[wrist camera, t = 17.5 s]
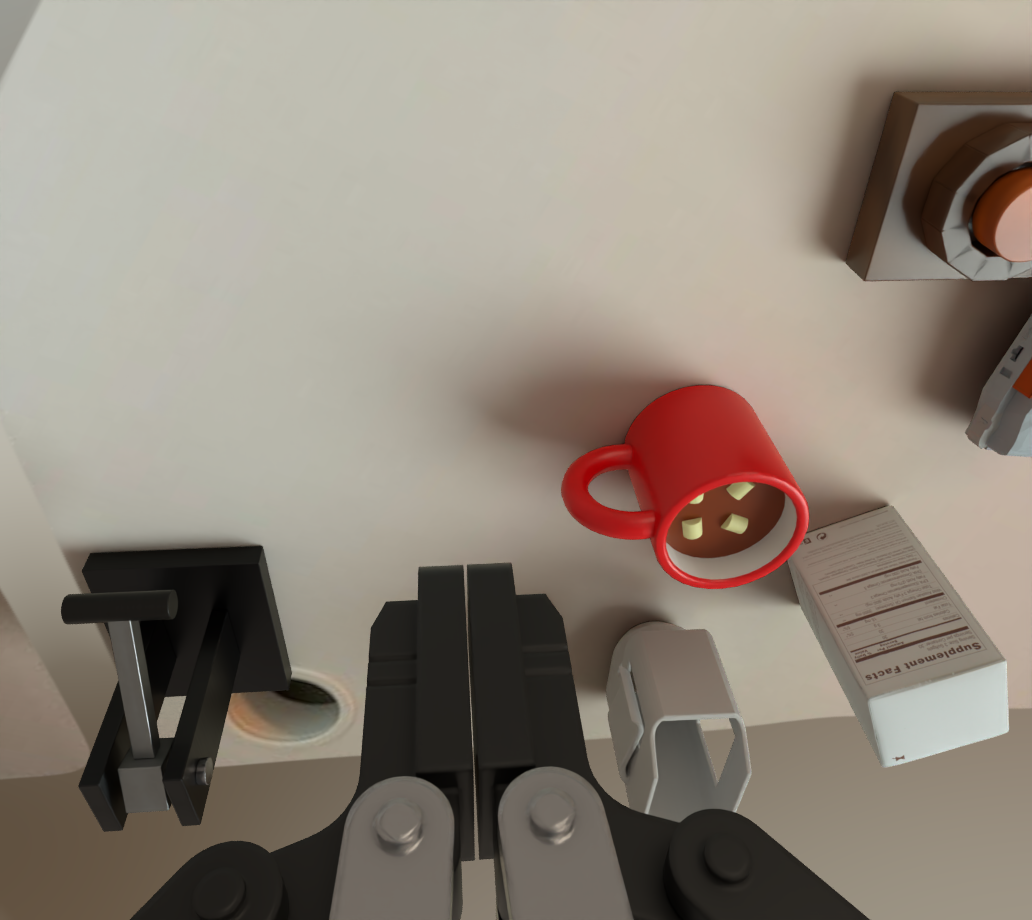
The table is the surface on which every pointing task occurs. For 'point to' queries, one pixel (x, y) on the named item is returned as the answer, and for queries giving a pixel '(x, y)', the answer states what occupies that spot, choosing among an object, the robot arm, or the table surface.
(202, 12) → the table surface
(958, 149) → the button block
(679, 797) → the cable organizer
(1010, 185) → the button
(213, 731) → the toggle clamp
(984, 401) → the grey case
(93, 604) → the lever
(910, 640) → the white packaging box
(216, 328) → the table surface
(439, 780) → the robot arm
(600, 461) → the mug
